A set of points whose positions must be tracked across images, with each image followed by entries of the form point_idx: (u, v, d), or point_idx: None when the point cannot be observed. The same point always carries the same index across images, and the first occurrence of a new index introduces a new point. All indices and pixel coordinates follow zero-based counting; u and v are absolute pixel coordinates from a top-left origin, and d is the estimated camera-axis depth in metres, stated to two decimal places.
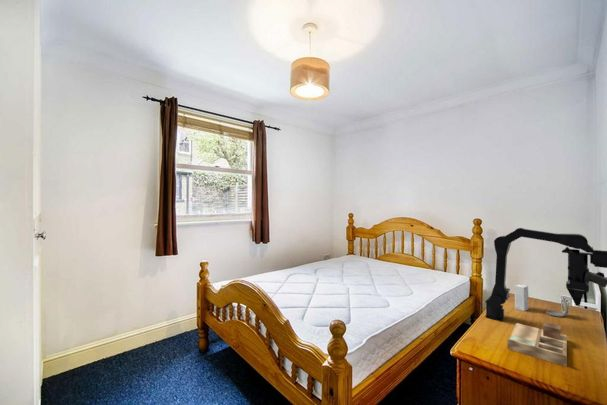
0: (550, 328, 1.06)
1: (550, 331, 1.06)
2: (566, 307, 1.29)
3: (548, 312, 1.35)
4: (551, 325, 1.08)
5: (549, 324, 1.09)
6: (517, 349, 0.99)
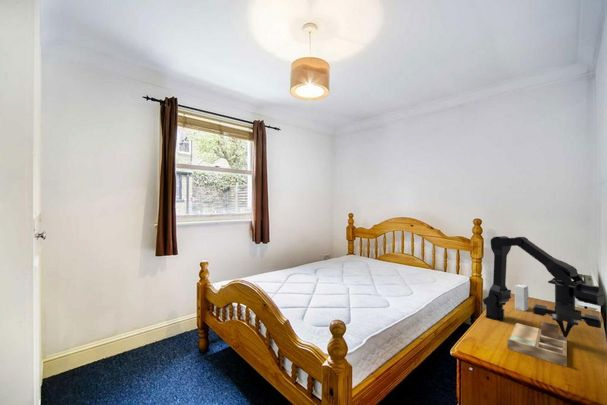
0: (548, 328, 1.06)
1: (548, 331, 1.06)
2: None
3: None
4: (549, 324, 1.09)
5: (547, 324, 1.09)
6: (517, 349, 0.99)
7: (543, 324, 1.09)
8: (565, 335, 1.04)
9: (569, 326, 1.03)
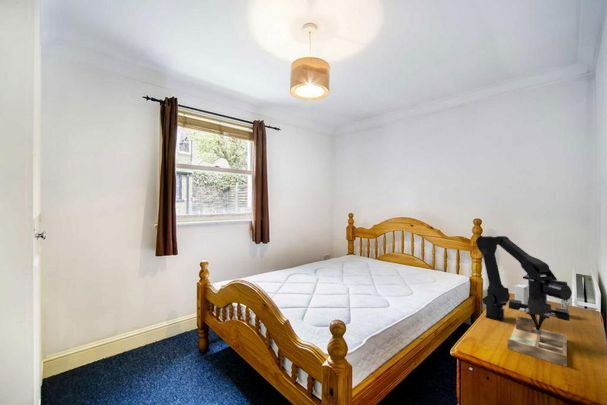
0: (522, 322, 1.12)
1: (522, 325, 1.12)
2: (566, 307, 1.29)
3: None
4: (523, 318, 1.14)
5: (522, 318, 1.14)
6: (517, 349, 0.99)
7: (518, 318, 1.14)
8: (538, 328, 1.10)
9: (541, 319, 1.09)
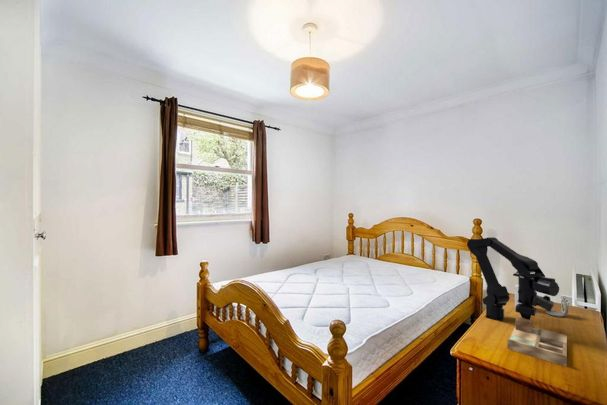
0: (522, 322, 1.11)
1: (522, 325, 1.11)
2: (566, 307, 1.29)
3: (548, 312, 1.35)
4: (523, 319, 1.13)
5: (521, 318, 1.14)
6: (517, 349, 0.99)
7: (517, 319, 1.13)
8: None
9: None
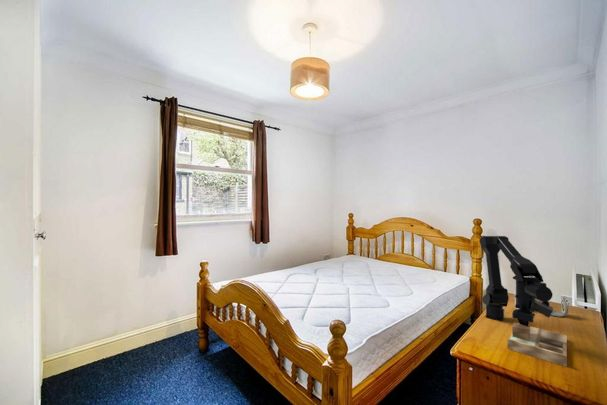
0: (519, 329, 1.05)
1: (519, 332, 1.05)
2: (566, 307, 1.29)
3: None
4: (520, 325, 1.07)
5: (519, 325, 1.08)
6: (517, 349, 0.99)
7: (514, 325, 1.07)
8: None
9: None
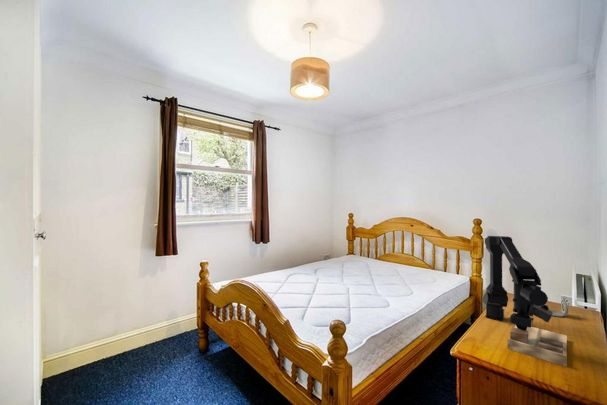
0: (517, 334, 1.01)
1: (517, 337, 1.01)
2: (566, 307, 1.29)
3: None
4: (518, 330, 1.03)
5: (517, 329, 1.04)
6: (517, 349, 0.99)
7: (512, 330, 1.03)
8: None
9: None
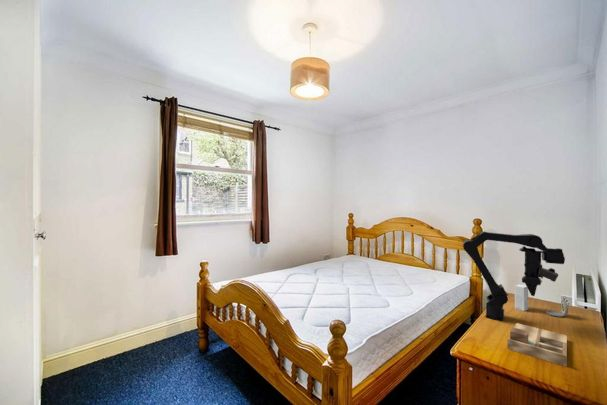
0: (517, 334, 1.01)
1: (517, 337, 1.01)
2: (566, 307, 1.29)
3: (548, 312, 1.35)
4: (518, 330, 1.03)
5: (517, 330, 1.04)
6: (517, 349, 0.99)
7: (512, 330, 1.03)
8: (534, 294, 1.22)
9: None
